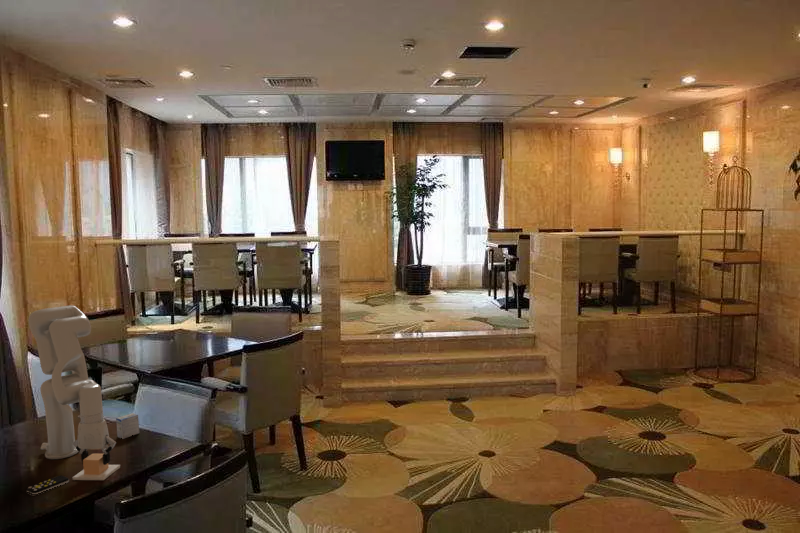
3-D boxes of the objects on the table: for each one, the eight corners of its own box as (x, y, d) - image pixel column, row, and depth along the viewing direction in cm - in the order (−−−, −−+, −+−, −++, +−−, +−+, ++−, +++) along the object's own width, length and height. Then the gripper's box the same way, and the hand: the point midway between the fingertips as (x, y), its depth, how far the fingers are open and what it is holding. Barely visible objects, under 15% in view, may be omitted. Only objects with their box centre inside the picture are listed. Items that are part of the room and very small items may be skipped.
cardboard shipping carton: (84, 474, 228) (82, 460, 227) (93, 467, 234) (92, 453, 233) (99, 474, 227) (98, 460, 226) (108, 467, 233) (107, 453, 232)
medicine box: (134, 431, 273) (132, 412, 273) (139, 433, 271) (138, 414, 270) (117, 437, 267) (115, 418, 266) (122, 439, 265) (121, 419, 264)
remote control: (70, 482, 224) (70, 477, 224) (34, 497, 214) (33, 491, 213) (61, 479, 228) (61, 473, 227) (25, 493, 217) (24, 487, 217)
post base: (72, 479, 226) (71, 466, 225) (90, 467, 237) (89, 454, 236) (103, 480, 224) (102, 466, 224) (120, 467, 235) (119, 454, 235)
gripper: (63, 421, 225) (67, 467, 227) (108, 421, 224) (112, 467, 225) (76, 414, 233) (80, 458, 235) (119, 414, 231) (123, 459, 233)
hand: (96, 462), depth 230 cm, fingers open, 7 cm apart
